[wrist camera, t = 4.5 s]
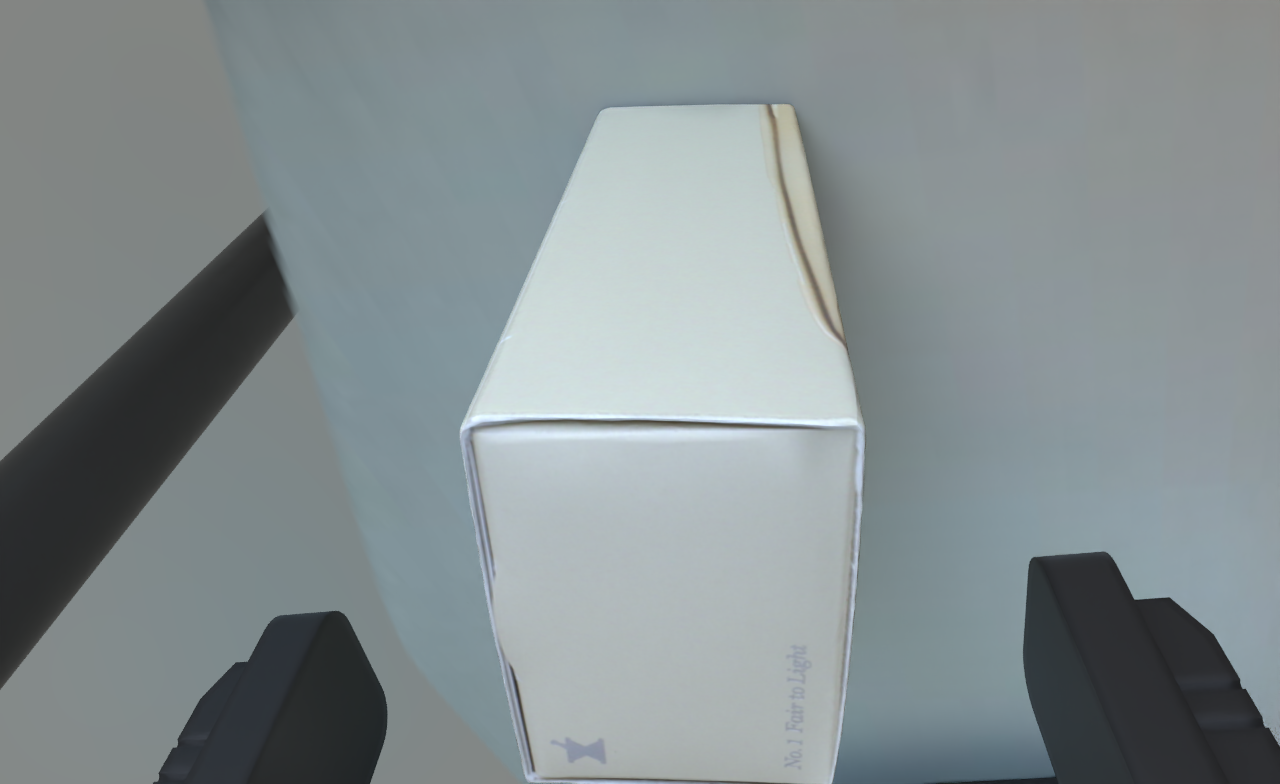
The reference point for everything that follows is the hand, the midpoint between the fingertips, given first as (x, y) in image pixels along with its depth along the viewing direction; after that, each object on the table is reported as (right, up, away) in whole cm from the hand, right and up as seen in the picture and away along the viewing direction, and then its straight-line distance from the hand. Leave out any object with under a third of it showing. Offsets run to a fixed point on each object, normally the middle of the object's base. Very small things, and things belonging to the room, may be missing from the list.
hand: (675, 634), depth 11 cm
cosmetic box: (+1, +7, +10) cm, 12 cm away
